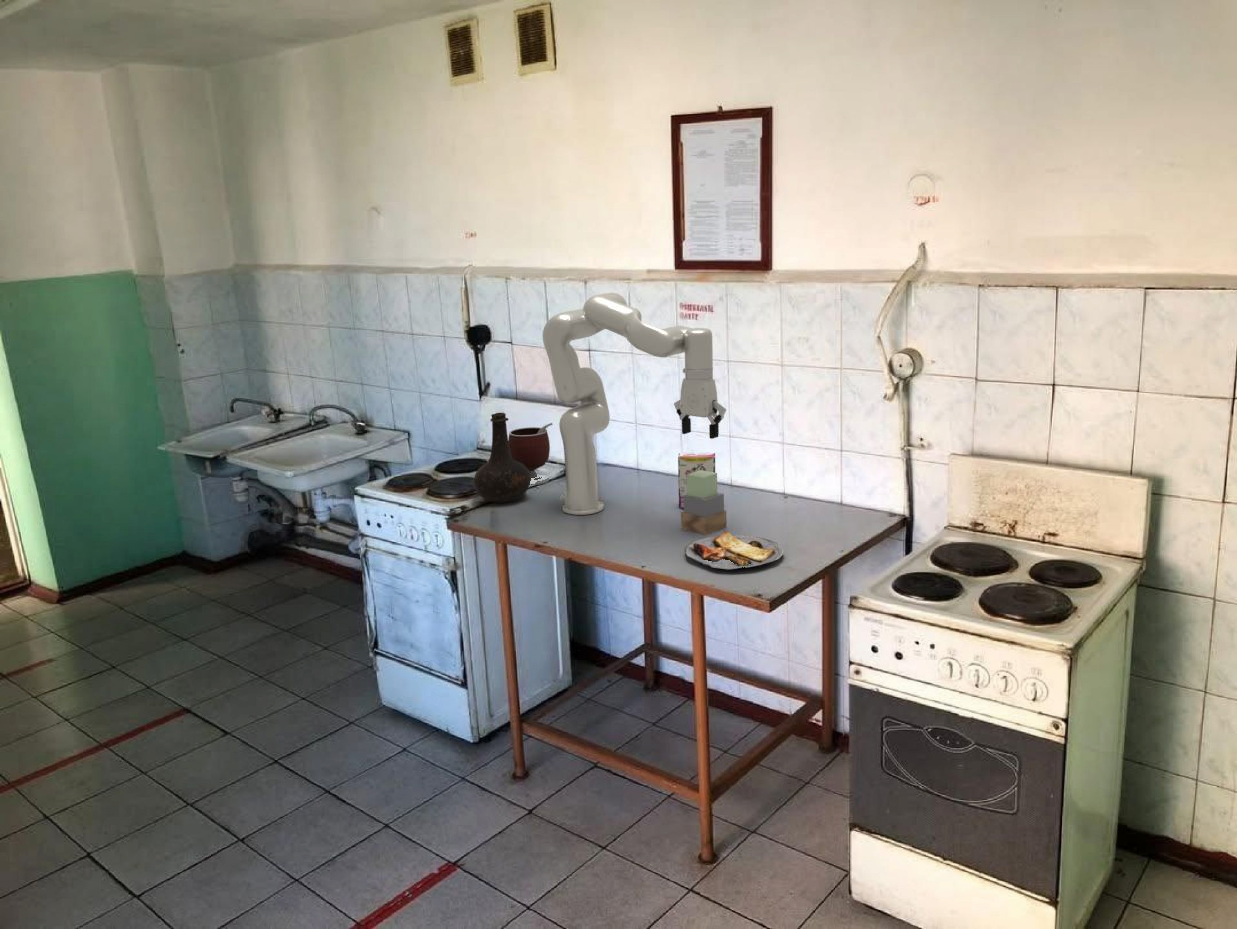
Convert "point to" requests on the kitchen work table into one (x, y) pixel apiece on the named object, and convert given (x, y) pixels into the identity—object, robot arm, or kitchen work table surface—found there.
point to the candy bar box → (692, 469)
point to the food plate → (734, 550)
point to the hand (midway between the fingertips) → (700, 435)
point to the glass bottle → (501, 468)
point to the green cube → (702, 484)
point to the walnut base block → (703, 523)
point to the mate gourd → (530, 448)
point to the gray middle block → (704, 505)
